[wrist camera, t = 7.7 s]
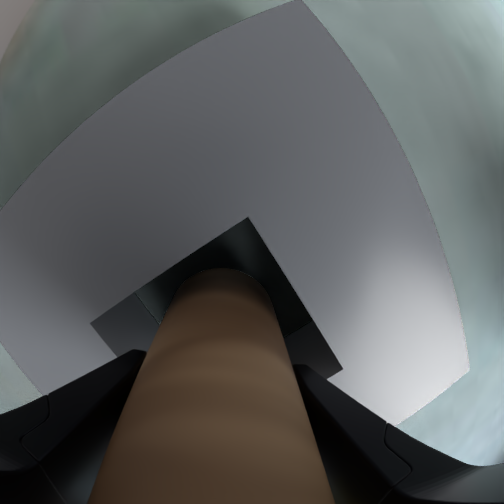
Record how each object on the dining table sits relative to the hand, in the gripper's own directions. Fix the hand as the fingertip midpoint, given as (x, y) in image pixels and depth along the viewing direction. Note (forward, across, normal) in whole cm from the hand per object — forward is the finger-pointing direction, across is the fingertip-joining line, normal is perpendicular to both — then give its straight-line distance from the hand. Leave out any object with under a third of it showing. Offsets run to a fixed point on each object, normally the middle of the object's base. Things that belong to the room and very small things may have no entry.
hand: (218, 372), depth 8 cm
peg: (+4, 0, 0) cm, 4 cm away
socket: (+5, 0, 0) cm, 5 cm away
